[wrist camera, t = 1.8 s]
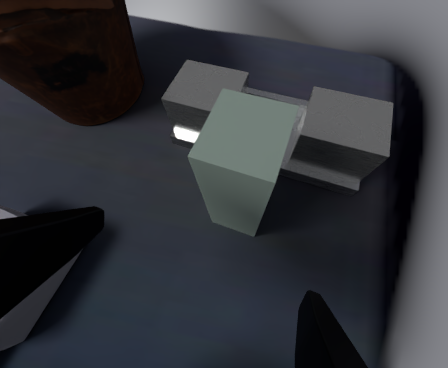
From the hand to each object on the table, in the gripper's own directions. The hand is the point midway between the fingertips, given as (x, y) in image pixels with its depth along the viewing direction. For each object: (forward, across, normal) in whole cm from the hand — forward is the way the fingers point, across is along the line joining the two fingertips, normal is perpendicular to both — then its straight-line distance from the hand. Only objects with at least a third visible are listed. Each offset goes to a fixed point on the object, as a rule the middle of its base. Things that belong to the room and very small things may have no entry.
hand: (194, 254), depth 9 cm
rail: (+20, 0, -2) cm, 20 cm away
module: (+14, 0, +4) cm, 14 cm away
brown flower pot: (+21, +25, -3) cm, 33 cm away
